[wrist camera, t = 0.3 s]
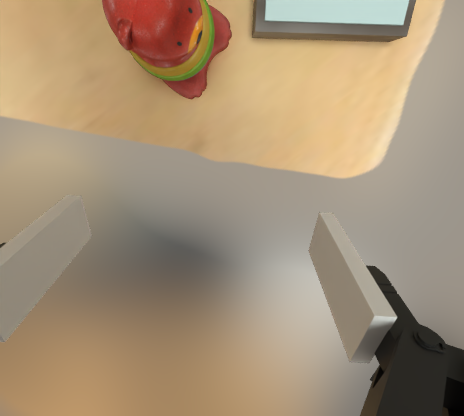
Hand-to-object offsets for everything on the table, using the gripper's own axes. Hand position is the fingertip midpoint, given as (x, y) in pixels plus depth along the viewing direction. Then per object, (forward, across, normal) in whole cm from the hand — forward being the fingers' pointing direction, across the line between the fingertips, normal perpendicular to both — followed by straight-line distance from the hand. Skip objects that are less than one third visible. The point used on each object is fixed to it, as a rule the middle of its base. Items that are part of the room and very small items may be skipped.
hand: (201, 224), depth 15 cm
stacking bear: (+27, -6, +9) cm, 29 cm away
